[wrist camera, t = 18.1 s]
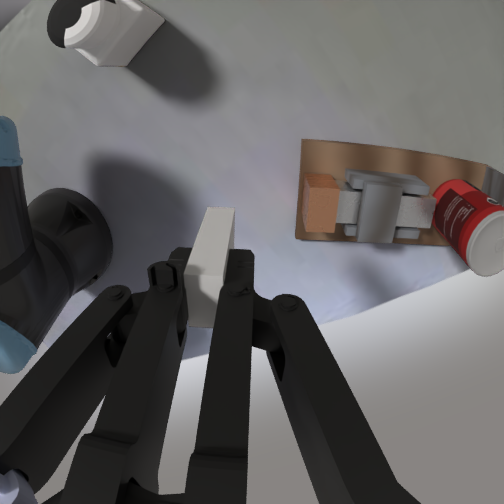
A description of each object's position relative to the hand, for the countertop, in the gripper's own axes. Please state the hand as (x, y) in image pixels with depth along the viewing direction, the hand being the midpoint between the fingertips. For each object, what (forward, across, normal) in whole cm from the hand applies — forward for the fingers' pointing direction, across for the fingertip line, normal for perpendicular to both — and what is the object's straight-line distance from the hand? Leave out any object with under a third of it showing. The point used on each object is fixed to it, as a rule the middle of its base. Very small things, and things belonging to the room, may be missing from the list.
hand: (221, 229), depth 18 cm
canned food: (+18, +27, -4) cm, 33 cm away
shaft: (+18, +15, -4) cm, 23 cm away
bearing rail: (+19, +20, -4) cm, 28 cm away
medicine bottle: (+20, -14, +15) cm, 29 cm away
